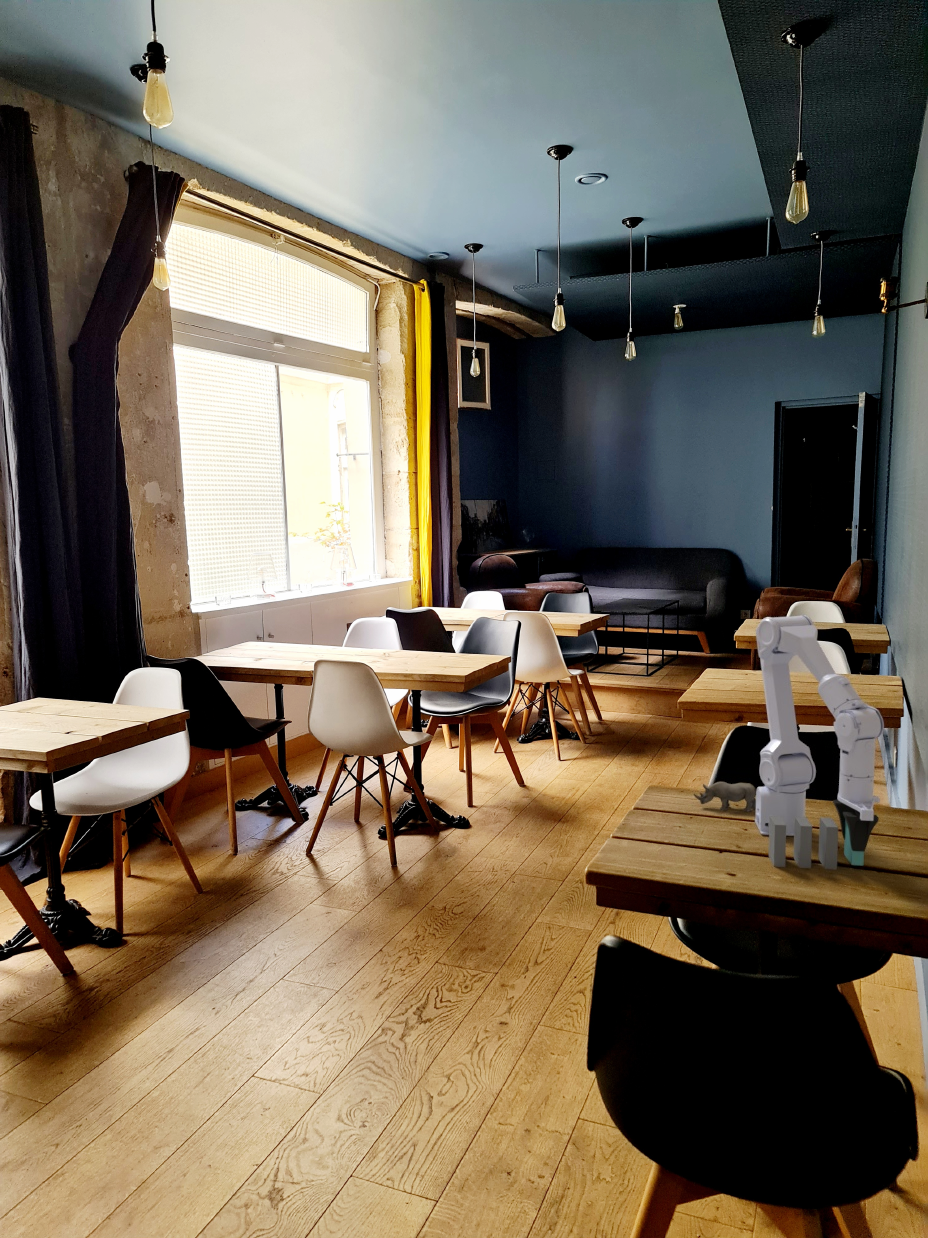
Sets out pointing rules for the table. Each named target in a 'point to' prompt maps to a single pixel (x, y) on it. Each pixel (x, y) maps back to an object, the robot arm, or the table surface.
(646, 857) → the table surface
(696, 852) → the table surface
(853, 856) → the teal domino
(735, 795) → the rhino figurine
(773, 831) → the gray domino
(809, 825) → the gray domino
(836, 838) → the grey domino block
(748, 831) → the table surface
